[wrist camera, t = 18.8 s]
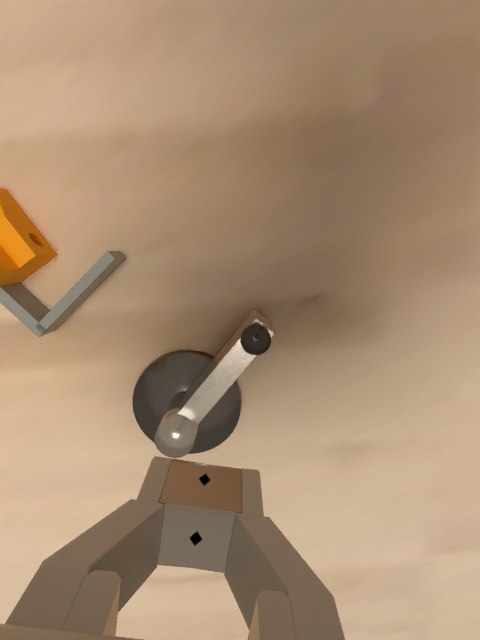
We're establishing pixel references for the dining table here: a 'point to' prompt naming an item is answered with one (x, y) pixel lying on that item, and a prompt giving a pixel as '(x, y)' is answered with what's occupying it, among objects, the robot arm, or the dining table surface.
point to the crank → (211, 386)
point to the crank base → (177, 377)
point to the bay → (48, 321)
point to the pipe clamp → (19, 243)
